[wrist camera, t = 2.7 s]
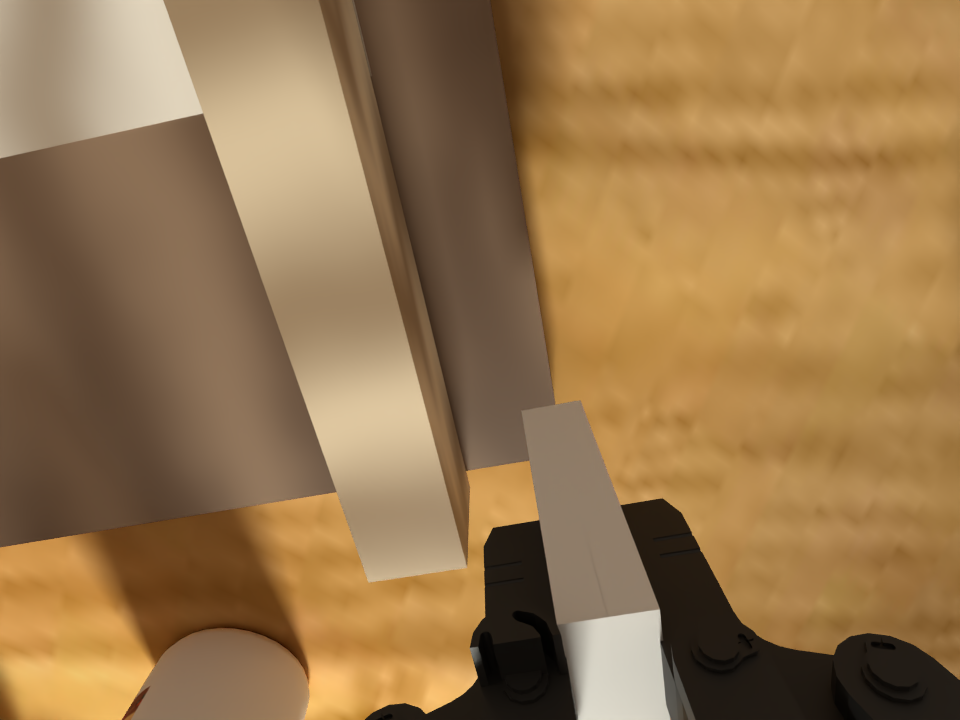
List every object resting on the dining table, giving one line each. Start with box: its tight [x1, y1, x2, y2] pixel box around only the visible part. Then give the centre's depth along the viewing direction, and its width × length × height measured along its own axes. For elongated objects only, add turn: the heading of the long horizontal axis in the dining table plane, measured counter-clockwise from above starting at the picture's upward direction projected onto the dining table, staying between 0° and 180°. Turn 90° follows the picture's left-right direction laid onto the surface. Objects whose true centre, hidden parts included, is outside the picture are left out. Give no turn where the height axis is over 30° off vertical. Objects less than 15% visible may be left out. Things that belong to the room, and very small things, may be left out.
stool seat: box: [0, 0, 555, 547], centre depth 19 cm, size 28×18×3 cm, turn 101°
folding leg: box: [163, 0, 470, 582], centre depth 15 cm, size 17×3×4 cm, turn 11°
